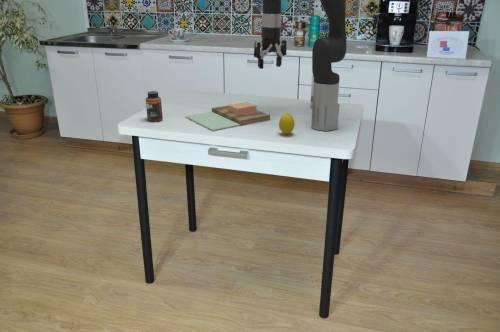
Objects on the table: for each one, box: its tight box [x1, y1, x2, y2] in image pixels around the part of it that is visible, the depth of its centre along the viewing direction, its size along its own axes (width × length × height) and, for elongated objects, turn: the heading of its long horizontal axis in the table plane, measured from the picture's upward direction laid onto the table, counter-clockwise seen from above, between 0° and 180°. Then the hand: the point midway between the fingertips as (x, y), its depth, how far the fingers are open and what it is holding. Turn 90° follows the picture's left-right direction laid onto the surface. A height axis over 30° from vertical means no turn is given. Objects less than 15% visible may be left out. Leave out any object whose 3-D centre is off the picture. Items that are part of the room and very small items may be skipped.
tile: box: [228, 101, 257, 115], centre depth 191 cm, size 7×9×2 cm
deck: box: [211, 104, 271, 127], centre depth 192 cm, size 22×14×2 cm, turn 34°
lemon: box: [278, 112, 296, 135], centre depth 169 cm, size 6×6×8 cm
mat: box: [184, 111, 241, 132], centre depth 185 cm, size 22×12×1 cm, turn 34°
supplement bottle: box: [145, 90, 164, 123], centre depth 185 cm, size 6×6×11 cm
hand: (269, 67), depth 189 cm, fingers open, 8 cm apart
